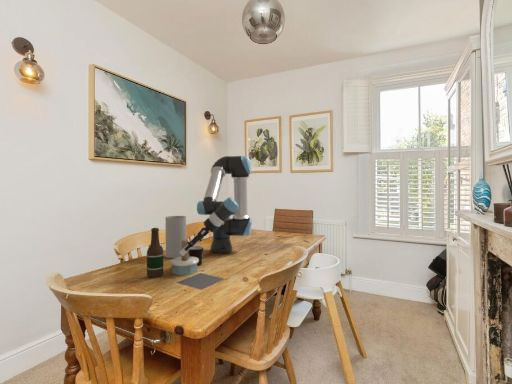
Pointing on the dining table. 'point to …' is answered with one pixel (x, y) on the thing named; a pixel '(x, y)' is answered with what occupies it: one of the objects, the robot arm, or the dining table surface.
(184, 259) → the lid
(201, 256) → the coffee mug
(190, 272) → the bowl
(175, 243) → the cylinder vase
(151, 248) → the beer bottle
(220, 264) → the dining table surface
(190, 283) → the mat
